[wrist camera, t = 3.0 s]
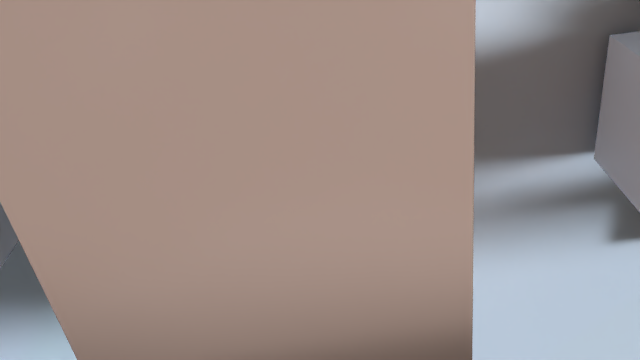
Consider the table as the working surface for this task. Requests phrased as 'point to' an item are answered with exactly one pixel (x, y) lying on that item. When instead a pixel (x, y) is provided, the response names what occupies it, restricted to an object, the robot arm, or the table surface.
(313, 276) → the pinkish tan block
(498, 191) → the table surface
